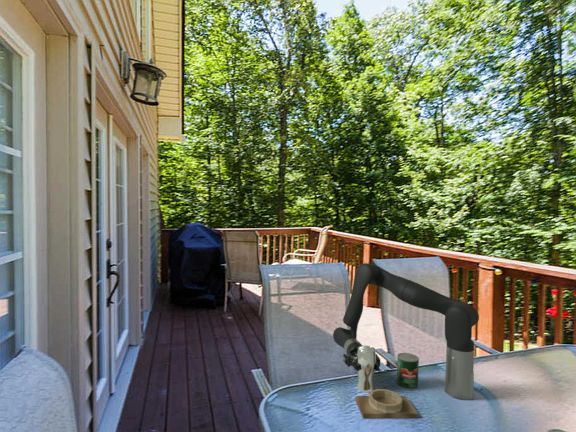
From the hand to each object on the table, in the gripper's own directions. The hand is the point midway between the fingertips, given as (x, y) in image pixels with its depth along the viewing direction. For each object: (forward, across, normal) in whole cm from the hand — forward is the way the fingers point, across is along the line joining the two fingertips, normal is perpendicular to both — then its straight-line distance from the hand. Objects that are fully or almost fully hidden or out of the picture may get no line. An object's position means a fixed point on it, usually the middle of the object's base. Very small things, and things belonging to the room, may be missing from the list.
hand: (368, 368), depth 133 cm
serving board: (+12, +2, +8) cm, 15 cm away
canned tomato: (-4, +17, +9) cm, 20 cm away
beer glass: (-2, 0, +9) cm, 9 cm away
